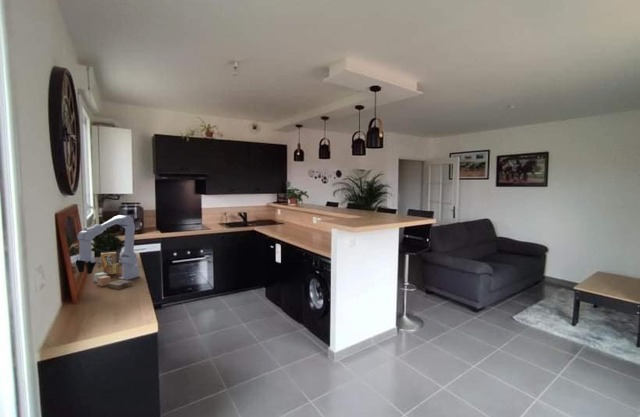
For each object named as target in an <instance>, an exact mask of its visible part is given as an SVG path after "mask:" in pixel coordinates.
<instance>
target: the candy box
mask: <svg viewBox="0 0 640 417" xmlns="http://www.w3.org/2000/svg"><path fill="white" fill-rule="evenodd" d="M101 272H103V273H107V276H109V275H116V274H117V252H116V251H114V252H113V251H112V252H101V253H100V273H101Z"/></svg>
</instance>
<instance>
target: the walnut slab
mask: <svg viewBox="0 0 640 417" xmlns="http://www.w3.org/2000/svg"><path fill="white" fill-rule="evenodd" d="M131 286H133V282H132V281H131V280H126V279H118V280H114V281H112V282H111V281H110V283H108V285H107V288H110V289H115V290H121V289H124V288H127V287H131Z"/></svg>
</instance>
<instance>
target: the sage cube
mask: <svg viewBox="0 0 640 417" xmlns="http://www.w3.org/2000/svg"><path fill="white" fill-rule="evenodd" d="M101 276H108V275H107V273H103V272H101V271H100V272H97V273H94V274H93V282H96V283H97V277H101Z"/></svg>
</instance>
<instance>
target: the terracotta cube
mask: <svg viewBox="0 0 640 417" xmlns="http://www.w3.org/2000/svg"><path fill="white" fill-rule="evenodd" d="M108 283H111V276H110V275H107V276H101V277H97V282H96V285H97V286H99V287H105V286H108Z"/></svg>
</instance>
